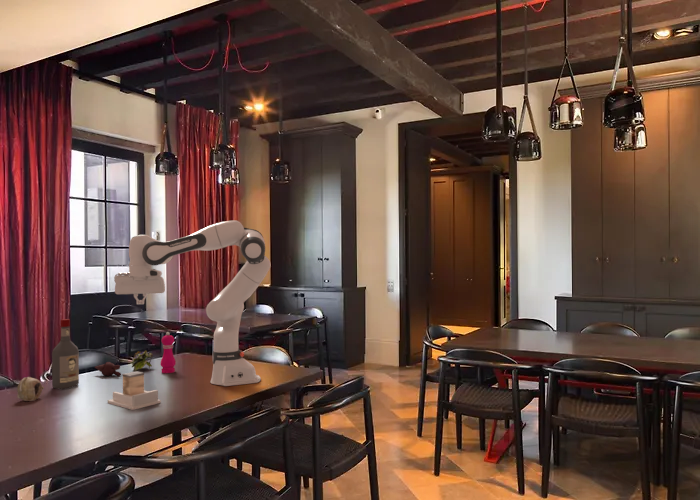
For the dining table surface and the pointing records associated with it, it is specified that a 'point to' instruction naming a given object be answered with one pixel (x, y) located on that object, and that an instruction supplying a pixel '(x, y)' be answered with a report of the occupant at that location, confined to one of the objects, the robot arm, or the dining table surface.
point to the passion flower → (141, 360)
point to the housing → (135, 399)
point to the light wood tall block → (133, 383)
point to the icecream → (109, 369)
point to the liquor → (65, 360)
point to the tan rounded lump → (29, 389)
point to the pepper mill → (168, 354)
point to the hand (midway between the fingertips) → (140, 304)
